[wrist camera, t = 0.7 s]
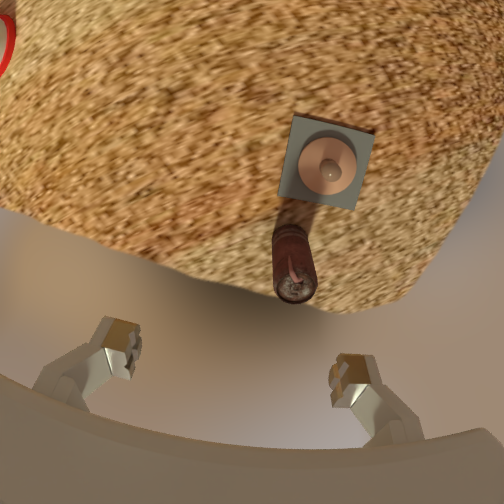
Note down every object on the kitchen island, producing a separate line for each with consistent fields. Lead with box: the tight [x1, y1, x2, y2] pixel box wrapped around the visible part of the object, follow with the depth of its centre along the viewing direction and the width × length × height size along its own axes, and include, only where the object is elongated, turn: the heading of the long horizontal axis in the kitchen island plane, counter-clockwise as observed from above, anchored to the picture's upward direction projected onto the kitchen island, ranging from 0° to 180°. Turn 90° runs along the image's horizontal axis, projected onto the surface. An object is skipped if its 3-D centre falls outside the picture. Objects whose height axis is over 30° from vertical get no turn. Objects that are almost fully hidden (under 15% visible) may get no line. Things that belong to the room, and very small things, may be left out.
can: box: [272, 225, 318, 304], centre depth 46 cm, size 6×6×14 cm
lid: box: [298, 137, 357, 195], centre depth 43 cm, size 9×9×4 cm
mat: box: [278, 115, 375, 210], centre depth 45 cm, size 13×13×1 cm
